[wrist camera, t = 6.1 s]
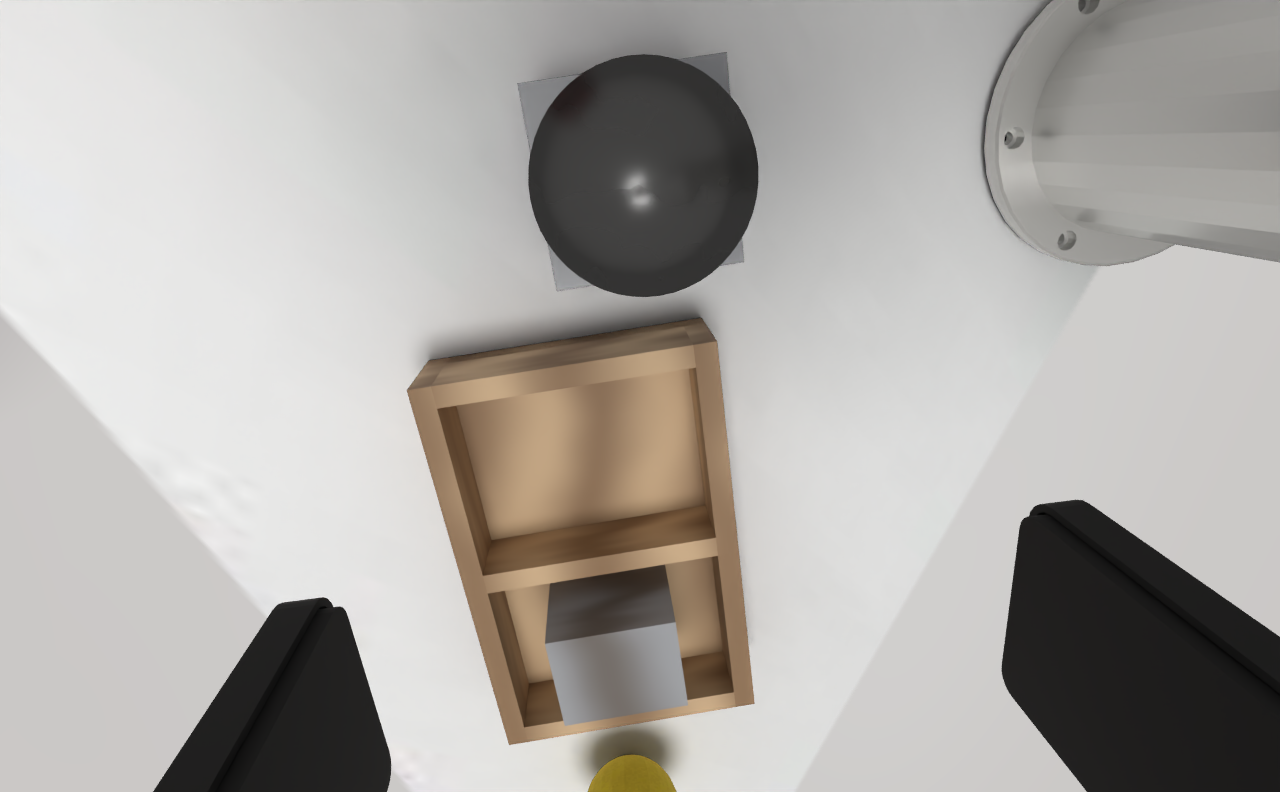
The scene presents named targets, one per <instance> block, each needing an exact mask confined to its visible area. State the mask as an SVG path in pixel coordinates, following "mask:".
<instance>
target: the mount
mask: <svg viewBox="0 0 1280 792" xmlns="http://www.w3.org/2000/svg"><path fill="white" fill-rule="evenodd" d="M677 60H679V61H682V62H685V63H687V64H690V65H692V66H694V67H695V68H697V69H699V70H701V71H703V72H704V73H706V74H707V75H708V76H710V77H711V78H712V79H714V80H715V81H716V82H717V83H718V84H719V85H720V86H721V87H722V88H723V89H724V90H725V91H726V92H727V93H728V94H729V95H730V88H729V76H728V64H727V52H724V53H717V54H711V55H704V56H697V57H691V58H684V59H677ZM579 75H581V74H577V75H571V76H564V77H557V78H551V79H544V80H537V81H531V82H524V83H517V84H518V89H519V95H520V100H521V105H522V111H523V116H524V121H525V126H526V132H527V137H528V142H529V147H530V153H531V149H532V145H533V141H534V137H535V135H536V132H537V130H538V127H539V125H540V122H541V120H542V118H543V117H544V115H545V113H546V111H547V109H548V108H549V106H550V105H551V104H552V102H553V101H554V100H555V98H556V97H557V96H558V94H559V93H560V92H561V91H562V90H563V89H564V88H565V87H566V86H567V85H568V84H569V83H570V82H572V81H573V80H574V79H576V78H577V77H578V76H579ZM548 248H549V253H550V258H551V264H552V269H553V274H554V279H555V285H556V290H557V291H562V290H568V289H575V288H581V287H587V286H594V285H592V284H590V283H589V282H587V281H585V280H584V279H582V278H581V277H579V276H578V275H576V274H575V273H574V272H573V271H572V270H570V269H569V268H568V267H567V266H566V265H565V264H564V263H563V262H562V261H561V260H560V259H559V258H558V257H557V256H556V254H555V253H554V252H553V250H552V249H551V247H550V246H549V245H548ZM741 262H744V254H743V242H742V238H741V240H740V242H739V243H738V245H737V246H736V247H735V249H734V250H733V252H732V253H731V254H730V255H729V256H728V258H727V259H726V260H725V261H724V262H723V263H722V264H721V265H720V266H722V265H728V264H735V263H741Z"/></svg>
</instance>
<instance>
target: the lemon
mask: <svg viewBox="0 0 1280 792" xmlns="http://www.w3.org/2000/svg"><path fill="white" fill-rule="evenodd" d="M588 792H676V790H675V787H674V785H673V783H672V781H671V779H670V777H669V776H668V774H667V773H666V772H665V771H664V770H663V769H662V768H661V767H660V765H658V764H657V763H656V762H654V761H652V760H651V759H649V758H647V757H644V756H640V755H633V754H632V755H624V756H620V757H617V758H615V759H613V760H611V761H609V762H608V763H607V764H606V765H604V766H603V767H602V768H601V769H600V770H599V772H598V773H597V774H596V776H595V777H594V779H593V780H592V782H591V784H590V787H589V790H588Z"/></svg>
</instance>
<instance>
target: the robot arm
mask: <svg viewBox="0 0 1280 792" xmlns="http://www.w3.org/2000/svg"><path fill="white" fill-rule="evenodd" d="M1005 135H1007V139H1006V141H1005V142H1004V139H1005ZM984 152H985V163H986V174H987V178H988V182H989V185H990V189H991V192H992V195H993V199H994V201H995V203H996V205H997V207H998V209H999V211H1000V212H1001V214H1002V216H1003V218H1004V220H1005V222H1006V223H1007V224H1008V225H1009V226H1010V227H1011V228H1012V229H1013V231H1014V232H1015V233H1016V234H1017V235H1018V236H1019V237H1020V238H1021V239H1022V240H1023V241H1025V242H1026V243H1028V244H1029V245H1030V246H1032V247H1033V248H1035V249H1036V250H1038V251H1039V252H1042V253H1044V254H1047V255H1049V256H1052V257H1054V258H1057V259H1060V260H1064V261H1068V262H1073V263H1078V264H1082V265H1096V266H1110V265H1117V264H1124V263H1129V262H1134V261H1137V260H1140V259H1143V258H1146V257H1149V256H1152V255H1155V254H1158V253H1160V252H1162V251H1163V250H1165V249H1167V248H1169V247H1171V246H1173V245H1175V244H1176V245H1182V246H1188V247H1194V248H1200V249H1206V250H1212V251H1217V252H1223V253H1229V254H1235V255H1240V256H1247V257H1252V258H1258V259H1263V260H1269V261H1275V262H1280V0H1052V1H1051V2H1050V3H1049V4H1048V5H1047V6H1046V7H1045V8H1044V9H1043V10H1042V12H1041V13H1040V14H1039V15H1038V16H1037V17H1036V19H1035V20H1034V21H1033V22H1032V23H1031V24H1030V26H1029V27H1028V28H1027V29H1026V30H1025V32H1024V33H1023V35H1022V36H1021V38H1020V40H1019V41H1018V43H1017V44H1016V46H1015V48H1014V49H1013V51H1012V52H1011V54H1010V56H1009V57H1008V59H1007V61H1006V63H1005V66H1004V68H1003V70H1002V73H1001V75H1000V77H999V80H998V82H997V84H996V87H995V89H994V93H993V97H992V101H991V105H990V108H989V112H988V116H987V122H986V134H985V145H984ZM1011 591H1012V592H1011V598H1010V606H1009V613H1008V621H1007V629H1006V637H1005V644H1004V652H1003V660H1002V675H1003V679H1004V682H1005V685H1006V687H1007V689H1008V691H1009V693H1010V694H1011V696H1012V697H1013V699H1014V700H1015V701H1016V702H1017V704H1018V705H1019V706H1020V707H1021V709H1022V710H1023V711H1024V712H1025V714H1026V715H1027V716H1028V718H1029V719H1030V720H1031V721H1032V722H1033V724H1034V725H1035V726H1036V728H1037V729H1038V730H1039V731H1040V732H1041V734H1042V735H1043V737H1044V738H1045V739H1046V740H1047V742H1048V743H1049V744H1050V745H1051V747H1052V748H1053V749H1054V750H1055V752H1056V753H1057V754H1058V756H1059V757H1060V758H1061V759H1062V761H1063V762H1064V763H1065V764H1066V766H1067V767H1068V768H1069V770H1070V771H1071V772H1072V773H1073V775H1074V776H1075V777H1076V778H1077V780H1078V781H1079V782H1080V783H1081V784H1082V786H1083V787H1084V788H1085V790H1086V791H1087V792H1280V637H1279V636H1278V635H1276V634H1275V633H1273V632H1272V631H1270V630H1269V629H1268V628H1266V627H1265V626H1263V625H1262V624H1261V623H1259V622H1258V621H1256V620H1255V619H1253V618H1252V617H1251V616H1249V615H1248V614H1246V613H1245V612H1243V611H1242V610H1240V609H1239V608H1238V607H1236V606H1235V605H1233V604H1232V603H1231V602H1229V601H1228V600H1226V599H1225V598H1223V597H1222V596H1220V595H1219V594H1218V593H1216V592H1215V591H1213V590H1212V589H1211V588H1209V587H1208V586H1206V585H1205V584H1203V583H1202V582H1200V581H1199V580H1198V579H1196V578H1195V577H1193V576H1192V575H1190V574H1189V573H1188V572H1186V571H1185V570H1183V569H1182V568H1180V567H1179V566H1178V565H1176V564H1175V563H1173V562H1172V561H1170V560H1169V559H1168V558H1166V557H1165V556H1163V555H1162V554H1160V553H1159V552H1158V551H1156V550H1155V549H1153V548H1152V547H1150V546H1149V545H1148V544H1146V543H1144V542H1143V541H1142V540H1140V539H1139V538H1137V537H1136V536H1135V535H1133V534H1132V533H1130V532H1129V531H1128V530H1126V529H1125V528H1123V527H1122V526H1120V525H1119V524H1118V523H1116V522H1115V521H1113V520H1112V519H1110V518H1109V517H1107V516H1106V515H1105V514H1103V513H1102V512H1100V511H1099V510H1097V509H1096V508H1095V507H1093V506H1091V505H1090V504H1088V503H1087V502H1085V501H1083V500H1071V501H1063V502H1055V503H1047V504H1040V505H1037V506H1035V507H1034V508H1033V509H1032V511H1031V512H1030V515H1029V517H1026V518H1024V519H1023V520H1022V522H1021V525H1020V529H1019V537H1018V544H1017V553H1016V560H1015V567H1014V575H1013V583H1012V590H1011ZM390 776H391V757H390V753H389V749H388V746H387V743H386V739H385V736H384V733H383V730H382V726H381V723H380V720H379V717H378V713H377V710H376V707H375V704H374V700H373V697H372V694H371V691H370V687H369V684H368V681H367V678H366V674H365V671H364V668H363V664H362V661H361V658H360V655H359V651H358V648H357V645H356V642H355V638H354V635H353V632H352V629H351V625H350V622H349V619H348V616H347V613H346V611H345V610H344V609H343V607H333V605H332V603H331V602H330V601H329V600H328V599H327V598H324V597H323V598H315V599H307V600H300V601H292V602H284V603H281V604H278V605H277V606H276V607H275V608H274V609H273V610H272V612H271V613H270V615H269V616H268V618H267V620H266V621H265V623H264V624H263V626H262V627H261V629H260V630H259V632H258V633H257V635H256V636H255V638H254V639H253V641H252V642H251V644H250V645H249V647H248V649H247V650H246V652H245V653H244V654H243V656H242V658H241V659H240V661H239V662H238V664H237V665H236V667H235V668H234V670H233V671H232V673H231V674H230V676H229V677H228V679H227V680H226V682H225V683H224V685H223V686H222V688H221V689H220V691H219V693H218V694H217V696H216V697H215V699H214V700H213V702H212V703H211V705H210V706H209V708H208V709H207V711H206V712H205V714H204V715H203V717H202V718H201V720H200V721H199V723H198V724H197V726H196V727H195V729H194V731H193V732H192V733H191V735H190V737H189V738H188V740H187V741H186V743H185V744H184V746H183V747H182V749H181V750H180V752H179V753H178V755H177V756H176V758H175V759H174V761H173V762H172V764H171V765H170V767H169V769H168V770H167V771H166V773H165V774H164V776H163V778H162V779H161V781H160V782H159V784H158V785H157V787H156V788H155V790H154V791H153V792H387V790H388V786H389V782H390Z"/></svg>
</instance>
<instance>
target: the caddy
mask: <svg viewBox="0 0 1280 792" xmlns="http://www.w3.org/2000/svg"><path fill="white" fill-rule="evenodd" d="M407 393H408V396H409V400H410V403H411V407H412V410H413V414H414V417H415V421H416V424H417V427H418V431H419V434H420V438H421V441H422V445H423V448H424V452H425V455H426V459H427V462H428V466H429V469H430V473H431V476H432V479H433V483H434V486H435V490H436V493H437V497H438V500H439V504H440V507H441V511H442V514H443V518H444V521H445V524H446V528H447V531H448V535H449V538H450V542H451V545H452V549H453V552H454V556H455V559H456V563H457V566H458V569H459V573H460V576H461V580H462V583H463V587H464V590H465V594H466V597H467V601H468V604H469V608H470V611H471V615H472V618H473V621H474V625H475V628H476V632H477V635H478V639H479V642H480V646H481V649H482V653H483V656H484V660H485V663H486V666H487V670H488V673H489V677H490V680H491V684H492V687H493V691H494V694H495V698H496V701H497V705H498V708H499V712H500V715H501V718H502V722H503V725H504V729H505V732H506V736H507V739H508V743H509V745H512V744H518V743H524V742H530V741H536V740H542V739H548V738H554V737H559V736H565V735H571V734H577V733H583V732H589V731H595V730H601V729H607V728H613V727H619V726H625V725H631V724H637V723H643V722H649V721H655V720H660V719H666V718H672V717H678V716H684V715H690V714H696V713H702V712H708V711H714V710H720V709H726V708H732V707H738V706H744V705H750V704H754V694H753V685H752V675H751V665H750V656H749V646H748V636H747V627H746V617H745V607H744V598H743V588H742V578H741V569H740V559H739V549H738V540H737V530H736V520H735V511H734V501H733V491H732V482H731V472H730V462H729V453H728V443H727V433H726V424H725V414H724V404H723V394H722V385H721V375H720V365H719V356H718V346H717V341H716V339H715V337H714V336H713V334H712V333H711V331H710V330H709V328H708V327H707V325H706V324H705V322H704V321H703V319H702V318H697V319H691V320H684V321H678V322H672V323H665V324H659V325H653V326H646V327H640V328H634V329H627V330H621V331H614V332H608V333H602V334H595V335H589V336H583V337H576V338H570V339H564V340H557V341H551V342H545V343H538V344H532V345H526V346H519V347H513V348H507V349H500V350H494V351H487V352H481V353H475V354H468V355H462V356H456V357H449V358H443V359H437V360H430V361H428V362H427V363H426V365H425V366H424V367H423V369H422V370H421V372H420V373H419V374H418V376H417V377H416V378H415V380H414V381H413V383H412V384H411V385H410V387H409V388H408V389H407Z"/></svg>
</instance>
